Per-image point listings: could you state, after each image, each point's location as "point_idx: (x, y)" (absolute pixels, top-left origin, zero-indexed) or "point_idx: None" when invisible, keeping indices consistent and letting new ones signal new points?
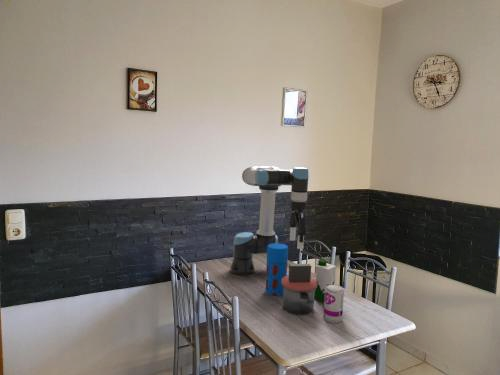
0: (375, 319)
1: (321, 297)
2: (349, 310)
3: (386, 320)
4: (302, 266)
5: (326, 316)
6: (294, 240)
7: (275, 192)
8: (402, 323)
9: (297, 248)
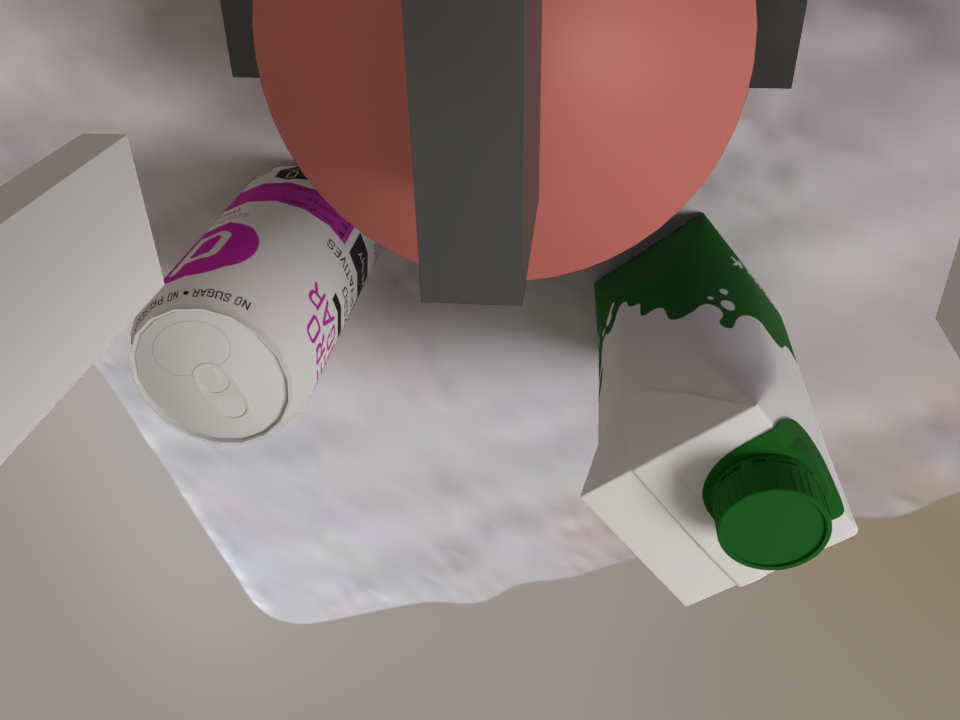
0: (322, 493)
1: (628, 273)
2: (456, 402)
3: (313, 540)
4: (412, 159)
5: (254, 182)
6: (946, 295)
7: None
8: (282, 593)
9: (79, 136)
